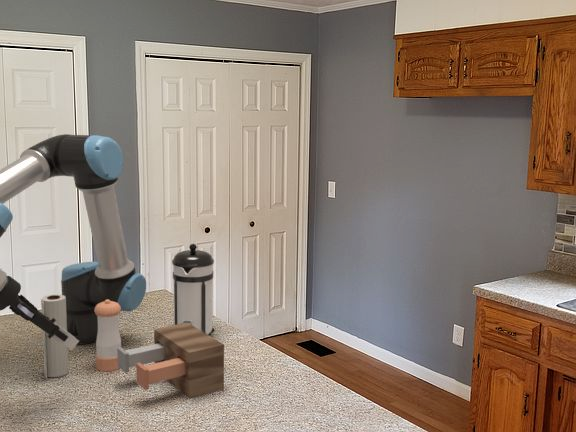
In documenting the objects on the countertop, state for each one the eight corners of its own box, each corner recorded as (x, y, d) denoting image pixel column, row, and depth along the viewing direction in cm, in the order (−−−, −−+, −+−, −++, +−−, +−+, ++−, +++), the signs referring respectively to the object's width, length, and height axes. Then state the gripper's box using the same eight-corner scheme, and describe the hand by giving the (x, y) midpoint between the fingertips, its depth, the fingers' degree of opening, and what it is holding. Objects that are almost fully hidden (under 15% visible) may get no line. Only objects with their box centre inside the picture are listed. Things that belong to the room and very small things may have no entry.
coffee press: (228, 338, 198) (229, 245, 193) (181, 348, 189) (180, 251, 184) (203, 322, 212) (203, 235, 207) (158, 331, 203) (157, 240, 198)
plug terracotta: (136, 382, 155) (136, 363, 154) (187, 369, 163) (187, 351, 162) (145, 390, 151) (144, 370, 150) (196, 376, 159) (196, 357, 158)
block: (154, 371, 173) (154, 329, 171) (187, 363, 179) (187, 322, 177) (189, 398, 157) (188, 352, 155) (223, 388, 163) (224, 344, 161)
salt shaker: (111, 359, 180) (109, 294, 177) (128, 365, 176) (126, 299, 173) (90, 367, 174) (87, 300, 171) (107, 373, 170) (105, 305, 167)
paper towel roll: (62, 367, 174) (59, 292, 170) (72, 373, 170) (69, 297, 166) (36, 374, 169) (33, 297, 165) (46, 381, 165) (42, 302, 161)
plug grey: (117, 366, 164) (117, 348, 163) (167, 354, 173) (166, 337, 172) (125, 372, 160) (124, 354, 160) (175, 360, 169) (175, 343, 168)
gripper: (-24, 293, 146) (53, 346, 158) (-9, 310, 134) (72, 366, 147) (0, 267, 148) (73, 322, 161) (16, 282, 136) (94, 340, 149)
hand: (73, 343), depth 154 cm, fingers closed
